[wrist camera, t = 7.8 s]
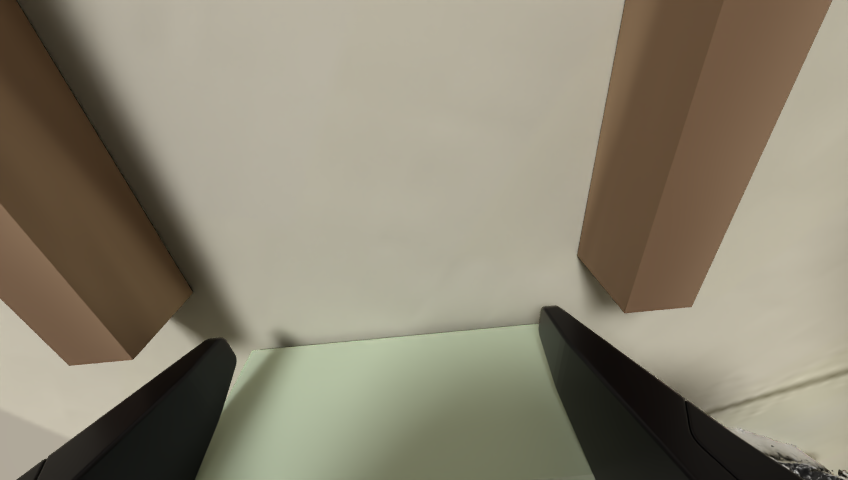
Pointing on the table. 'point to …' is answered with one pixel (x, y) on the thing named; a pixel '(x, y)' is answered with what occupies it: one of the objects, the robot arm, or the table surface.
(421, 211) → the table surface
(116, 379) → the table surface
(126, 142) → the table surface
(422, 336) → the block
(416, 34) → the table surface
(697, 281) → the chute rails
